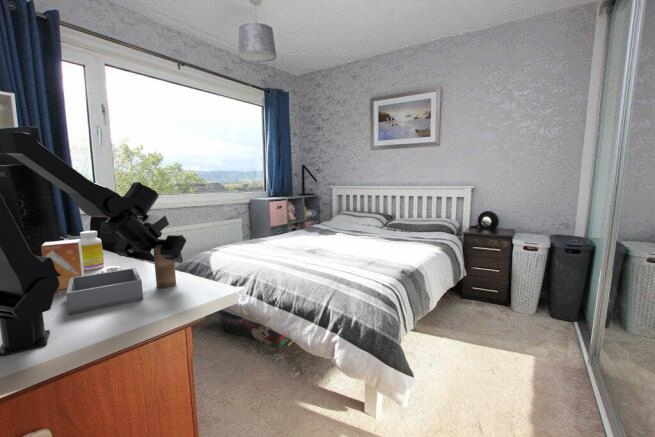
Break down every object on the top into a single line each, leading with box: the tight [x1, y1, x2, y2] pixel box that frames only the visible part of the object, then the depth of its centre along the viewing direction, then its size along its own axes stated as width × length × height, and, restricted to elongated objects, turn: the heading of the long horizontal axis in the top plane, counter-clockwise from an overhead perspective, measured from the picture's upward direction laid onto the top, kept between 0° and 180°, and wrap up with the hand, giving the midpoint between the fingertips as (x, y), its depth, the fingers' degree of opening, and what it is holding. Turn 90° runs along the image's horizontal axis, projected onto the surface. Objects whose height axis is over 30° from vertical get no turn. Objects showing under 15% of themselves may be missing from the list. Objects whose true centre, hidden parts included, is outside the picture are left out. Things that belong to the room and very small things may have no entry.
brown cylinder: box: [152, 248, 177, 289], centre depth 89 cm, size 5×5×13 cm
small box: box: [40, 238, 85, 291], centre depth 90 cm, size 8×6×13 cm
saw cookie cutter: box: [99, 265, 122, 273], centre depth 103 cm, size 13×5×2 cm, turn 46°
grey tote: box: [65, 267, 144, 315], centre depth 81 cm, size 15×15×5 cm
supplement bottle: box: [79, 230, 105, 271], centre depth 109 cm, size 7×7×13 cm
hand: (168, 261), depth 91 cm, fingers open, 9 cm apart
